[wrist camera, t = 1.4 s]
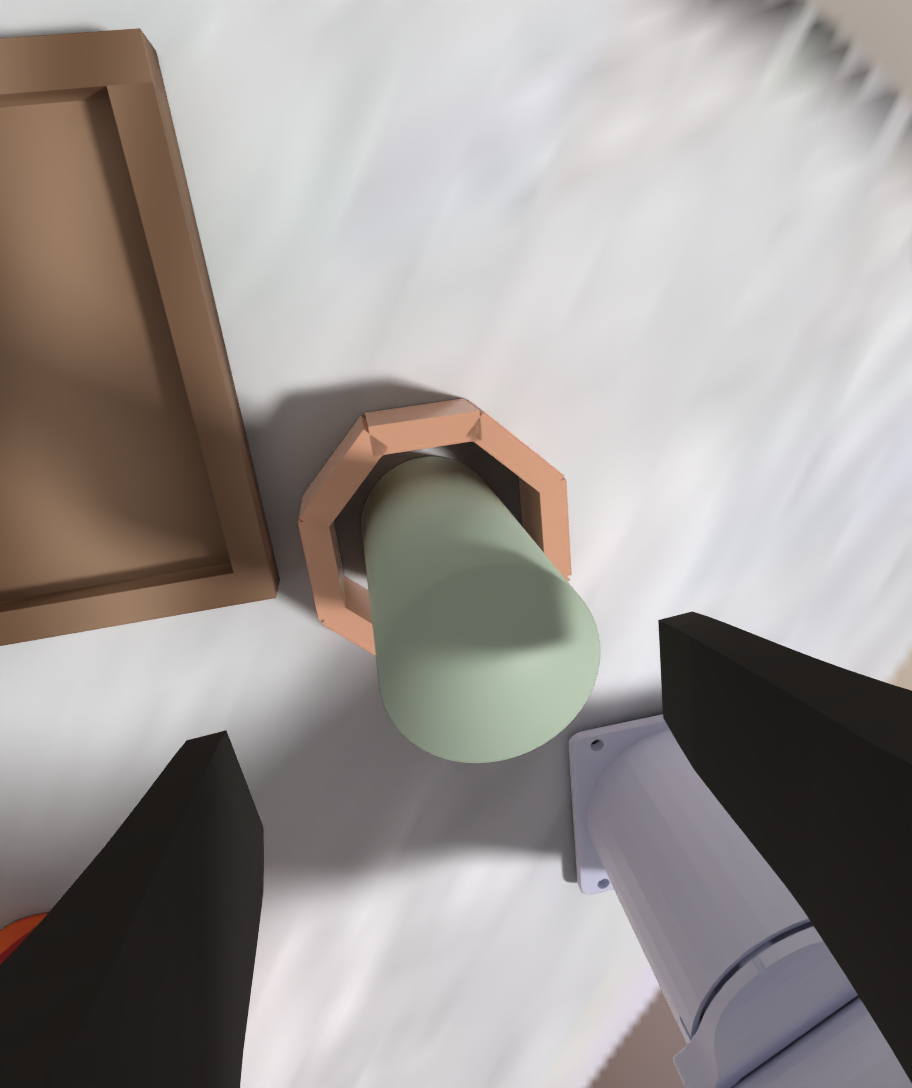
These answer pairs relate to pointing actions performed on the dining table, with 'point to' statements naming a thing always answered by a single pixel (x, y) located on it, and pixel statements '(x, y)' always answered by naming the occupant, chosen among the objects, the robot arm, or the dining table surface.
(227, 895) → the robot arm
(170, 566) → the serving tray
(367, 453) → the orange octagonal ring
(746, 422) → the dining table surface
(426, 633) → the green pin
